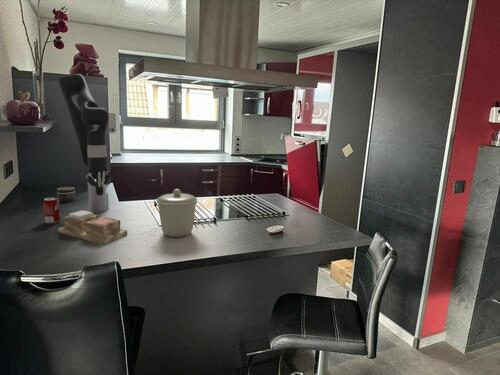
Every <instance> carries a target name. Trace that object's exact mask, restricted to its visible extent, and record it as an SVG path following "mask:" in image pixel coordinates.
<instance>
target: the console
mask: <svg viewBox="0 0 500 375" xmlns="http://www.w3.org/2000/svg"><path fill="white" fill-rule="evenodd" d="M102 218H106V219H110V220H115V221H113V222H110V223H107V224H104V225H99V224H95V223H91V222H92V221H96V220H99V219H102ZM63 219H64V220H63V221H64V226H62V227H59V228H58V227H57V230H58V232H57V233H58V234H63V235H66V236H70V237H75V238H77V239H81V240H84V241H89V242H92V243H96V244H99V245H103V244H106V243H109V242H112V241H115V240H117V239H119V238H122V237H125V236H127V235H128V230H126V229H121V220H120V219H116V218H111V217H106V216H102V217H99V215H97V214H95V213H93V216H92V217H88V218H84V219H81V220H78V219H74V218H70V217H69V215H67V216H64V218H63Z"/></svg>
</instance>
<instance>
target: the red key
mask: <svg viewBox="0 0 500 375" xmlns="http://www.w3.org/2000/svg"><path fill="white" fill-rule="evenodd" d="M101 218H102V217H101ZM113 221H115V220H110V219H106V218H102V219H99V220H96V221H92V222H91V223H95V224H99V225H104V224H107V223H110V222H113Z"/></svg>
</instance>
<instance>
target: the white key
mask: <svg viewBox="0 0 500 375" xmlns="http://www.w3.org/2000/svg"><path fill="white" fill-rule="evenodd" d="M68 214H69V215H68V216H69V217H70V218H74V219H78V220H81V219H84V218H88V217H92V216H93V214H94V212H91V211H89V210H78V211H75V212H71V213H68Z"/></svg>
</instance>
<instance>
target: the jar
mask: <svg viewBox="0 0 500 375" xmlns="http://www.w3.org/2000/svg"><path fill="white" fill-rule="evenodd" d="M56 195H57V197H56V198H57V200H58V201H59V203H70V202H71V203H72V202H73V201H75V200H76V187H73V186H61V187H58V188H56Z"/></svg>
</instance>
